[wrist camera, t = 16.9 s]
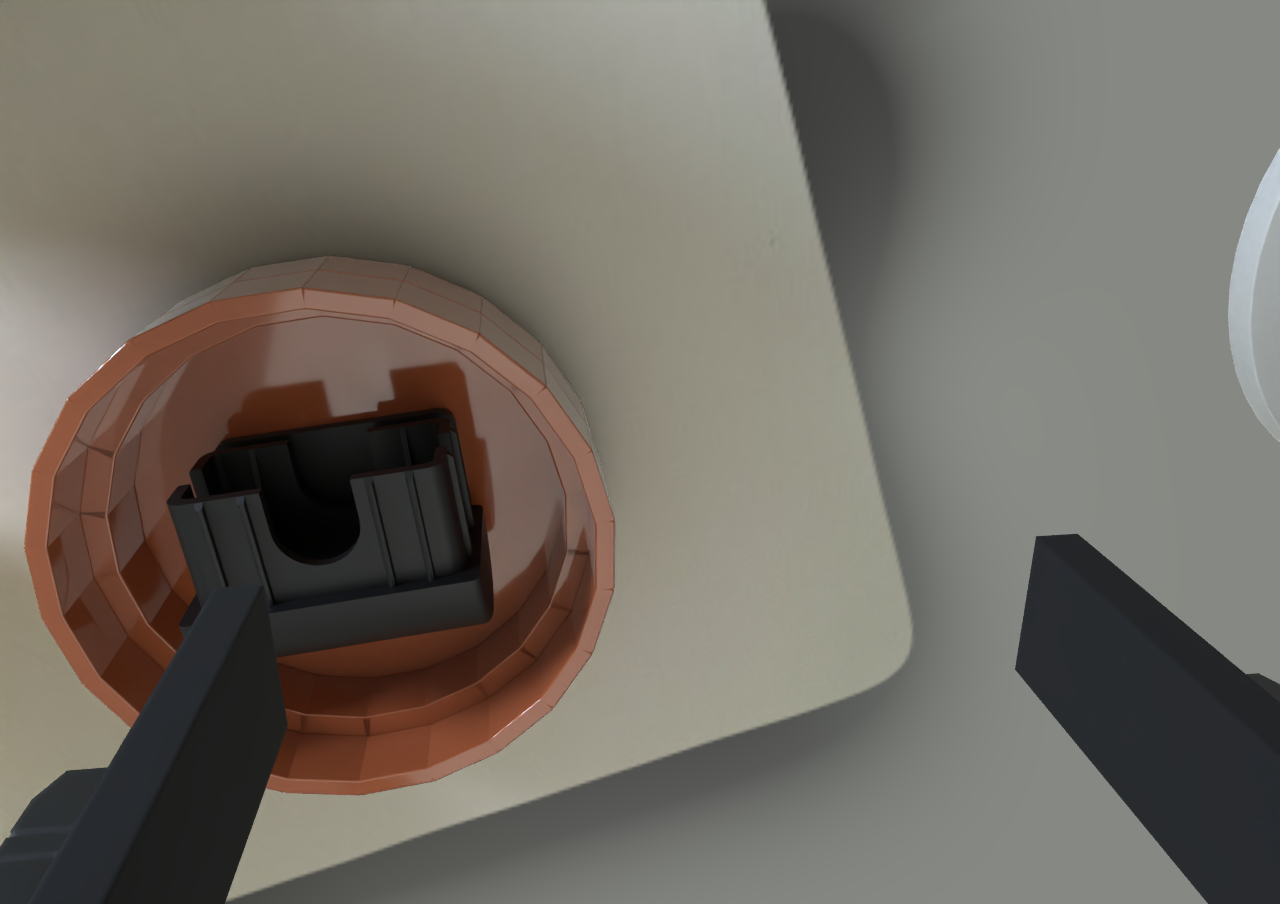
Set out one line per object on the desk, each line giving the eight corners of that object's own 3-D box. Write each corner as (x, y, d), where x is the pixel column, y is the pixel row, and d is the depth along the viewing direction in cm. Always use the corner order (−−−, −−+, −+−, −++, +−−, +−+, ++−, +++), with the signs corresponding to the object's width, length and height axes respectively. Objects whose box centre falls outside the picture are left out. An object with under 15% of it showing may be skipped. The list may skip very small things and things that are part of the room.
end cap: (249, 602, 39) (202, 704, 33) (200, 441, 36) (138, 519, 30) (495, 563, 40) (494, 655, 34) (465, 402, 37) (458, 471, 31)
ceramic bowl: (599, 250, 36) (617, 283, 31) (599, 686, 44) (613, 776, 38) (48, 254, 34) (-41, 291, 28) (145, 716, 41) (90, 816, 36)
